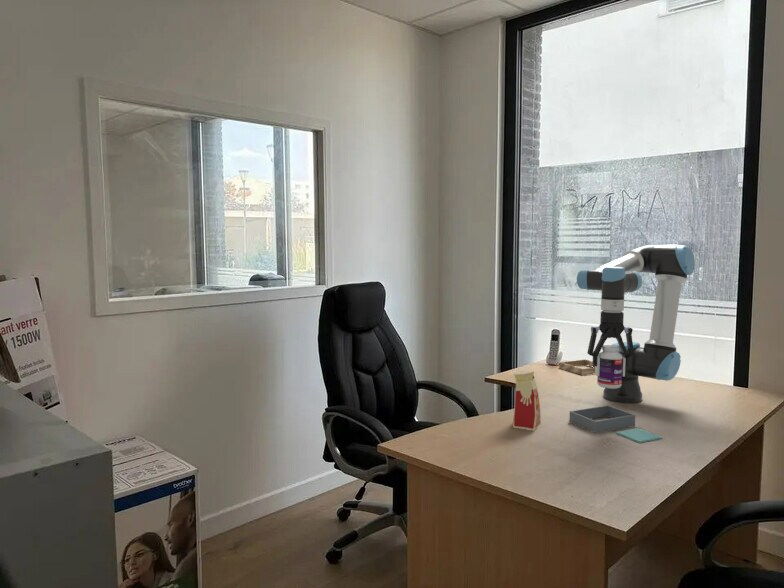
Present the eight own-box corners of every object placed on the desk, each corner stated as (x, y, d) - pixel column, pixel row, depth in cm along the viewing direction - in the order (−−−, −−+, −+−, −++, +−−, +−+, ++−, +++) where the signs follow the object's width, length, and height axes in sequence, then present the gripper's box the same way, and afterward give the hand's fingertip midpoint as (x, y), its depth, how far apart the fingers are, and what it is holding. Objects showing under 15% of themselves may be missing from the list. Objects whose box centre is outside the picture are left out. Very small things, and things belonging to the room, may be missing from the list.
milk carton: (540, 423, 212) (541, 369, 210) (535, 431, 204) (536, 374, 202) (515, 420, 216) (516, 366, 214) (509, 427, 207) (510, 372, 205)
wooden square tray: (559, 368, 297) (559, 362, 297) (585, 365, 304) (585, 359, 304) (582, 375, 282) (582, 369, 281) (609, 372, 289) (609, 366, 288)
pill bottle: (617, 390, 201) (618, 349, 200) (593, 387, 206) (595, 346, 205) (624, 386, 208) (626, 346, 206) (601, 382, 213) (603, 343, 211)
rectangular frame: (569, 422, 213) (569, 411, 213) (607, 415, 221) (608, 405, 220) (595, 433, 201) (595, 421, 201) (635, 425, 209) (635, 414, 208)
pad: (616, 433, 201) (616, 432, 201) (638, 429, 205) (638, 427, 205) (639, 443, 192) (639, 441, 192) (661, 438, 196) (661, 436, 196)
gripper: (584, 312, 201) (582, 377, 203) (646, 312, 200) (644, 378, 202) (578, 309, 209) (576, 372, 211) (639, 310, 207) (636, 373, 210)
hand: (609, 375), depth 207 cm, fingers closed on pill bottle, 8 cm apart
